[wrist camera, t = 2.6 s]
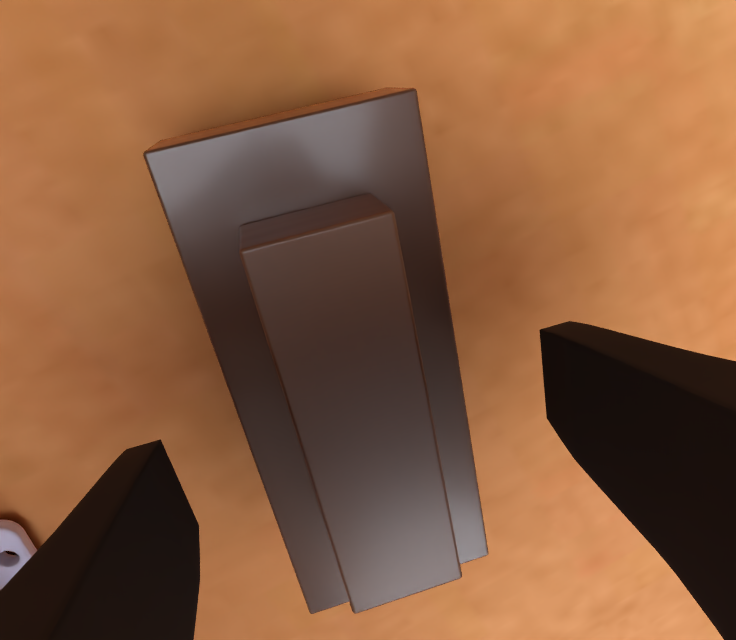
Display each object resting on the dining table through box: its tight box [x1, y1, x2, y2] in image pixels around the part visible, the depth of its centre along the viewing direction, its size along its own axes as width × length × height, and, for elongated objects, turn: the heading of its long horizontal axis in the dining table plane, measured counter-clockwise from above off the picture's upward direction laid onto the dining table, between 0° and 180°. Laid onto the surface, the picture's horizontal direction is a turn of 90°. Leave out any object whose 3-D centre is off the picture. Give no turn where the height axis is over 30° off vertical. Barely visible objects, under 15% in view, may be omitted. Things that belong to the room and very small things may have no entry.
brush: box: [143, 88, 488, 614], centre depth 12 cm, size 11×5×5 cm, turn 11°
